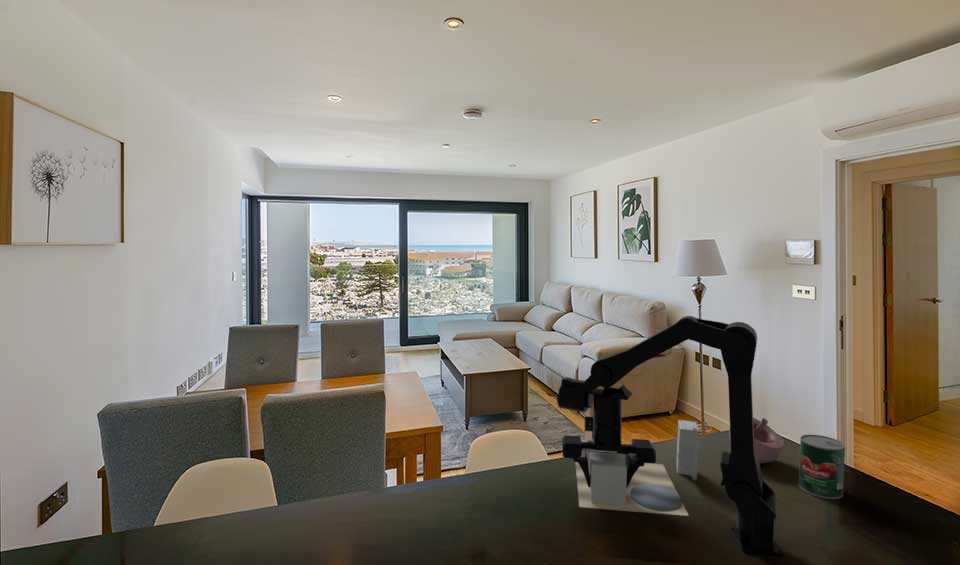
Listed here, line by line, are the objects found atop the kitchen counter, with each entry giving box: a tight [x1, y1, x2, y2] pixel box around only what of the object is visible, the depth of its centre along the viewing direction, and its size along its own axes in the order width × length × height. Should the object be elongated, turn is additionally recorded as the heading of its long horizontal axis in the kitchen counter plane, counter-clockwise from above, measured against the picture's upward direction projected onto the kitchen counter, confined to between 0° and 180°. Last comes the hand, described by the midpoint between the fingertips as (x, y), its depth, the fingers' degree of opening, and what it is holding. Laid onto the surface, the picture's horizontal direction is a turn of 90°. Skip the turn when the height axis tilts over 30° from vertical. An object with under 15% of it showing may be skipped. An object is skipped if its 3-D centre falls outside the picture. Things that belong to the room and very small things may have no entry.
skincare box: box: [675, 419, 700, 482], centre depth 107 cm, size 6×4×12 cm
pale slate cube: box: [589, 452, 627, 505], centre depth 96 cm, size 7×7×8 cm
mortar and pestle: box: [728, 417, 786, 464], centre depth 113 cm, size 12×12×12 cm
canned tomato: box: [797, 434, 846, 500], centre depth 99 cm, size 8×8×11 cm
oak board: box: [574, 462, 690, 517], centre depth 101 cm, size 22×21×2 cm
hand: (606, 487), depth 96 cm, fingers closed on pale slate cube, 7 cm apart
